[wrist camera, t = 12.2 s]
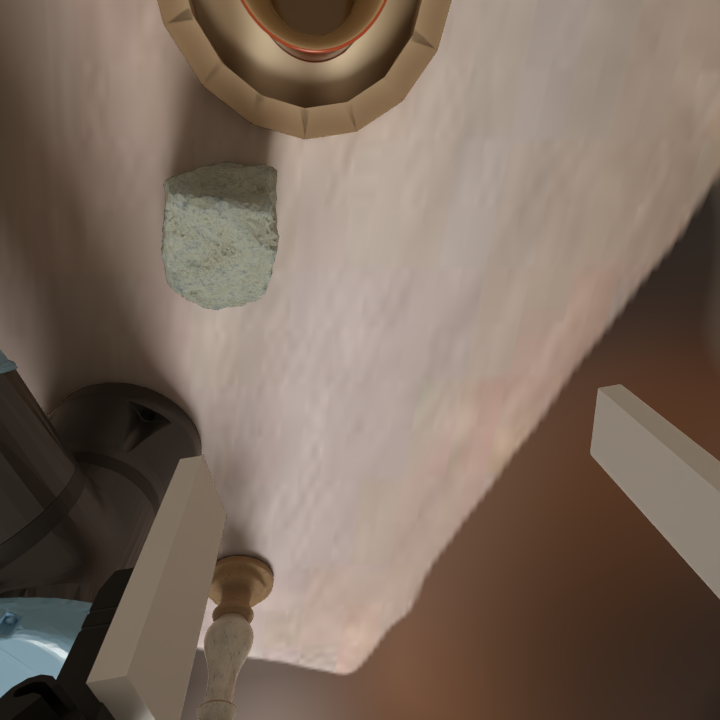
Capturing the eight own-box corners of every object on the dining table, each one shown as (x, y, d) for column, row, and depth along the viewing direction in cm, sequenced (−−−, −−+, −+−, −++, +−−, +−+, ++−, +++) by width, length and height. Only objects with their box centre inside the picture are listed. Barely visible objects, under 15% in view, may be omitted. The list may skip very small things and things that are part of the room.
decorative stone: (209, 103, 34) (108, 151, 28) (329, 171, 34) (253, 235, 27) (209, 233, 44) (134, 289, 38) (300, 288, 44) (240, 353, 38)
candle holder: (273, 553, 56) (255, 749, 38) (273, 599, 60) (256, 798, 42) (201, 555, 55) (147, 757, 37) (206, 601, 59) (159, 806, 41)
